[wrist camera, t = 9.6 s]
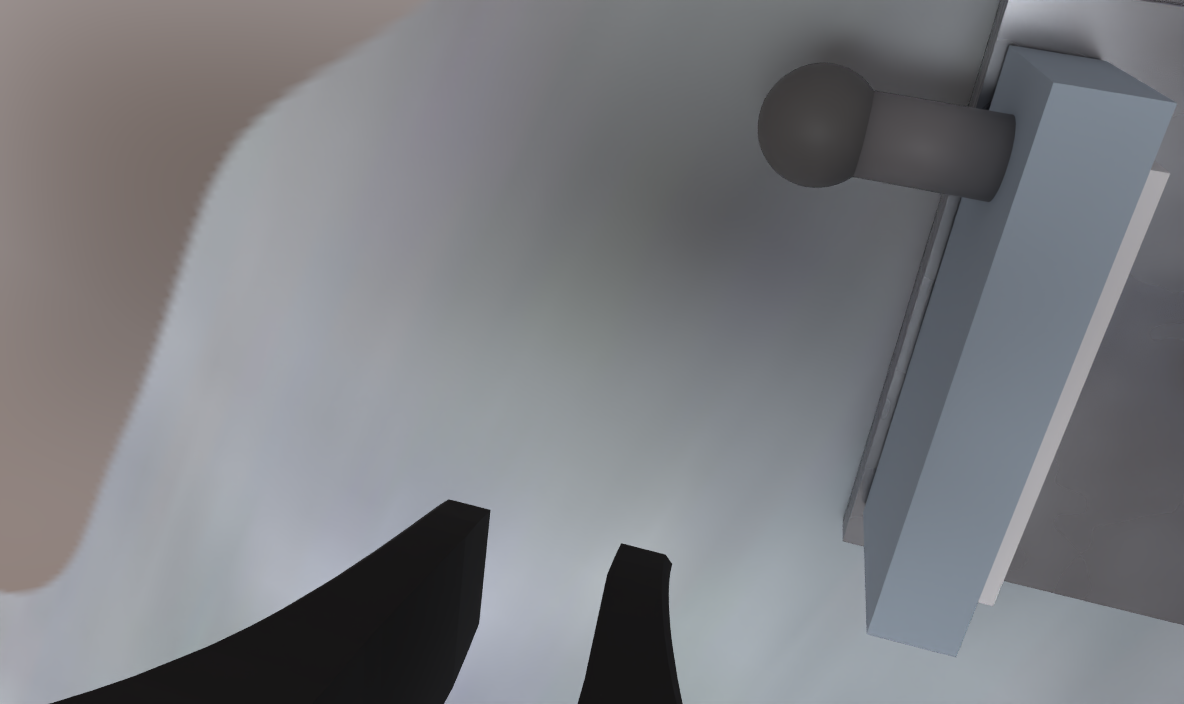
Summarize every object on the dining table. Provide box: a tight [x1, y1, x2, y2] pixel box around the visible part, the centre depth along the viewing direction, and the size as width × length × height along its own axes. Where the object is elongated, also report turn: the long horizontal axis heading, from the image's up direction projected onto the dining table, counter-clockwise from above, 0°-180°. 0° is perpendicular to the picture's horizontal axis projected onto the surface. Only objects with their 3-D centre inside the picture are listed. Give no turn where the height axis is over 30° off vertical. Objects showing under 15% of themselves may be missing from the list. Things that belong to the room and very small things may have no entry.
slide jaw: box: [758, 45, 1177, 657], centre depth 17 cm, size 6×10×4 cm, turn 174°
